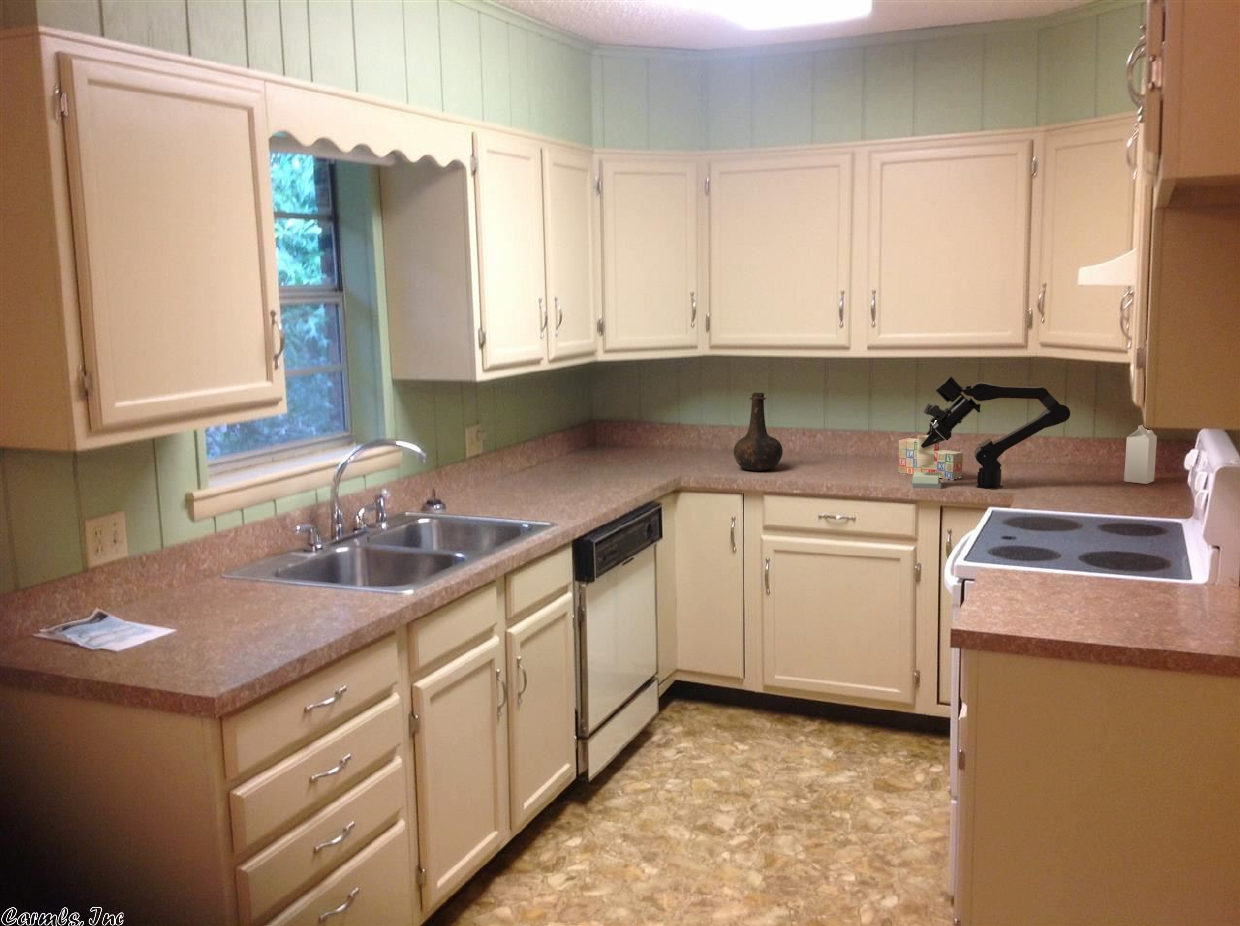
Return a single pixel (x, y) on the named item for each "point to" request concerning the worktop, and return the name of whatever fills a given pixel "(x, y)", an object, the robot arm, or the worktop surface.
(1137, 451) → the milk carton
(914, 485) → the tower base
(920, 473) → the tower top
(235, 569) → the worktop surface
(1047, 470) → the worktop surface
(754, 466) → the glass bottle
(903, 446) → the stack of blocks
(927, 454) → the tall block
